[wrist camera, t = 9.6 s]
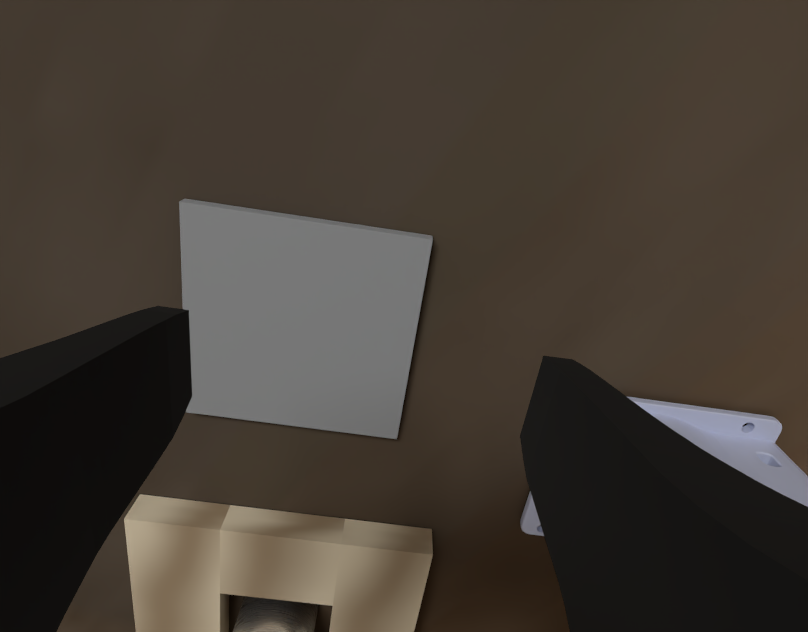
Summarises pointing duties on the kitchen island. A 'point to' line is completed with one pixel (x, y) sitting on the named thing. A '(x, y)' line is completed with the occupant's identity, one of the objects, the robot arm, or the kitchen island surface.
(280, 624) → the steel peg
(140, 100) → the kitchen island surface
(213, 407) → the pad
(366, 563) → the hole plate
